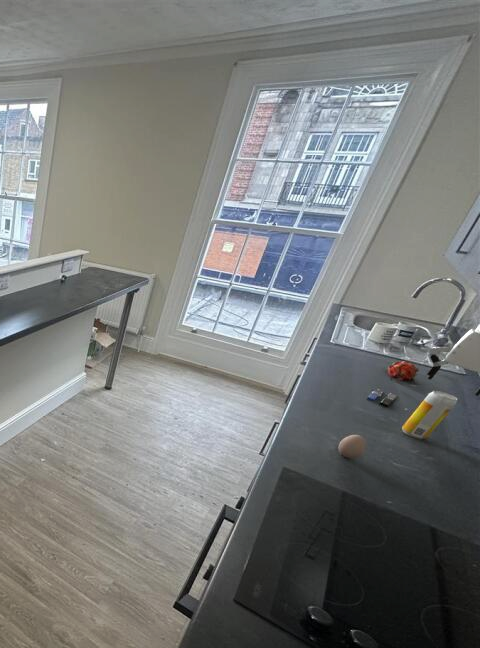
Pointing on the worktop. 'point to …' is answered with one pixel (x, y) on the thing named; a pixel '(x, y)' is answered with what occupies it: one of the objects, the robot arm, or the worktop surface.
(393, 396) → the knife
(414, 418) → the beer can
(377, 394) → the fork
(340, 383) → the worktop surface
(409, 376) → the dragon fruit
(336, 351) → the worktop surface
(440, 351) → the robot arm
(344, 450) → the egg
